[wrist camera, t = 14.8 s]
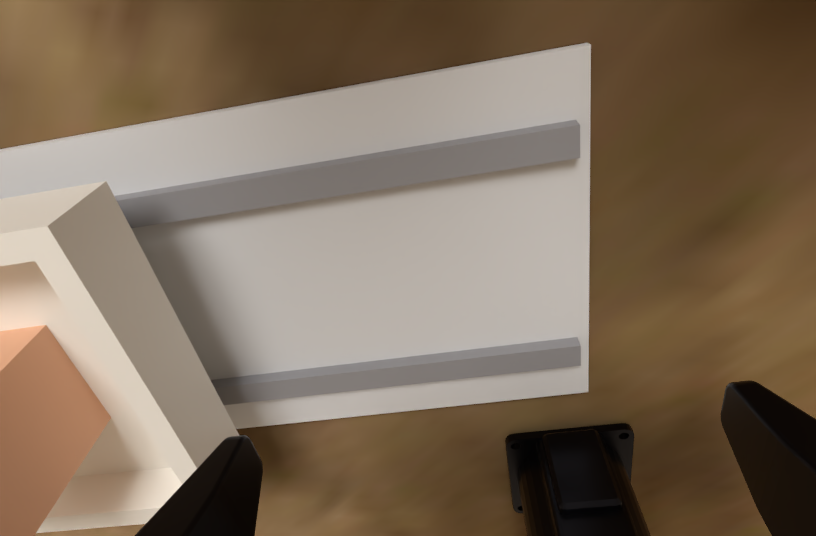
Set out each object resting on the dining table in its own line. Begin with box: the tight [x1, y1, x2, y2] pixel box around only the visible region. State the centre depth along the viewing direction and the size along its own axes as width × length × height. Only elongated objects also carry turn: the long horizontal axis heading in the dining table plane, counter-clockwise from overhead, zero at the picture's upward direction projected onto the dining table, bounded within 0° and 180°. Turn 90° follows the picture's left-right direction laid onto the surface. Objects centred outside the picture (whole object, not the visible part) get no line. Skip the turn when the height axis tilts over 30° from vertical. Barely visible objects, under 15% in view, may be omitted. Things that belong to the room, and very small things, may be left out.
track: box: [0, 43, 591, 429], centre depth 23 cm, size 16×34×2 cm, turn 100°
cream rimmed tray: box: [0, 181, 239, 533], centre depth 21 cm, size 14×14×5 cm
